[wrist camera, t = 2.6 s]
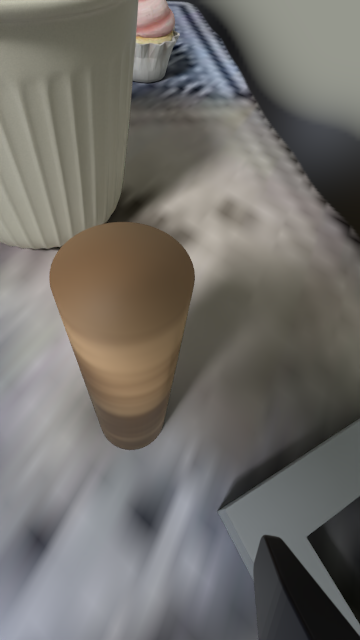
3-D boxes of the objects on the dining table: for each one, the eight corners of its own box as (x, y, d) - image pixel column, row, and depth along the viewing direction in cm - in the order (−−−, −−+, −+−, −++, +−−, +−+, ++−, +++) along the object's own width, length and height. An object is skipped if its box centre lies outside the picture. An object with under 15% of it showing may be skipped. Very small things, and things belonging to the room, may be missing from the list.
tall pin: (175, 430, 21) (221, 299, 9) (115, 462, 20) (79, 357, 8) (147, 376, 23) (156, 209, 11) (90, 402, 21) (31, 243, 10)
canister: (25, 326, 24) (-309, -274, 6) (-109, 202, 29) (-503, -324, 11) (185, 209, 32) (242, -185, 15) (60, 129, 37) (-11, -236, 20)
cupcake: (188, 83, 46) (199, -16, 38) (127, 93, 43) (124, -13, 35) (156, 55, 50) (159, -41, 42) (97, 62, 47) (88, -41, 39)
